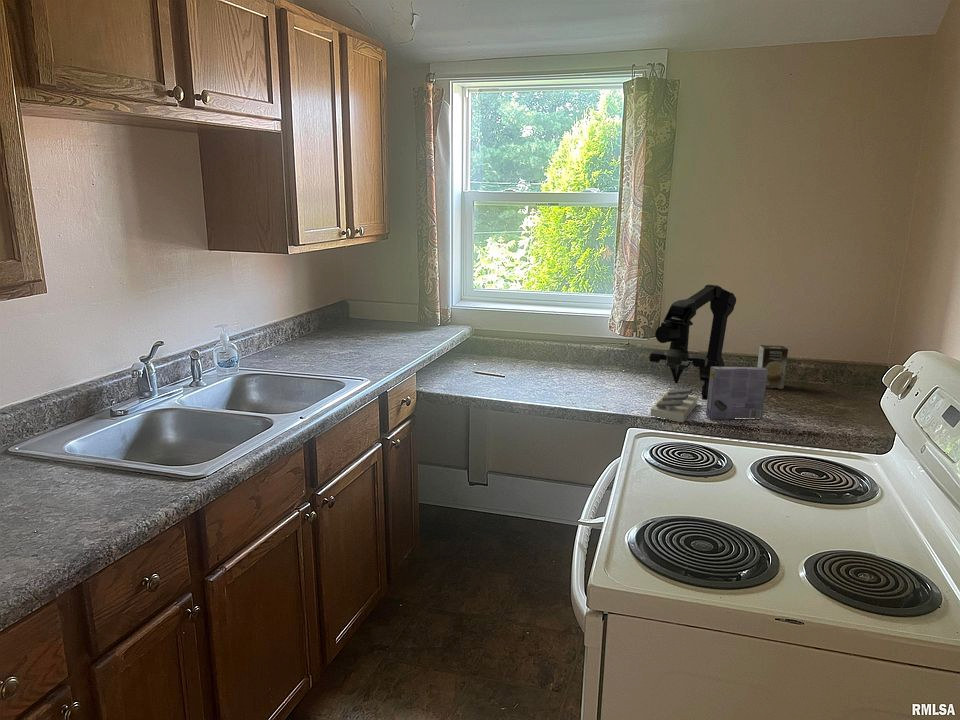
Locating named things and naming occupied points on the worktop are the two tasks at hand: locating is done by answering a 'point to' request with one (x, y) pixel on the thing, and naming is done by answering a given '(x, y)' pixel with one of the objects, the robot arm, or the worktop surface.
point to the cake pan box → (736, 392)
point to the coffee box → (773, 364)
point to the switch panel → (675, 409)
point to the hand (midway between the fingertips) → (676, 383)
